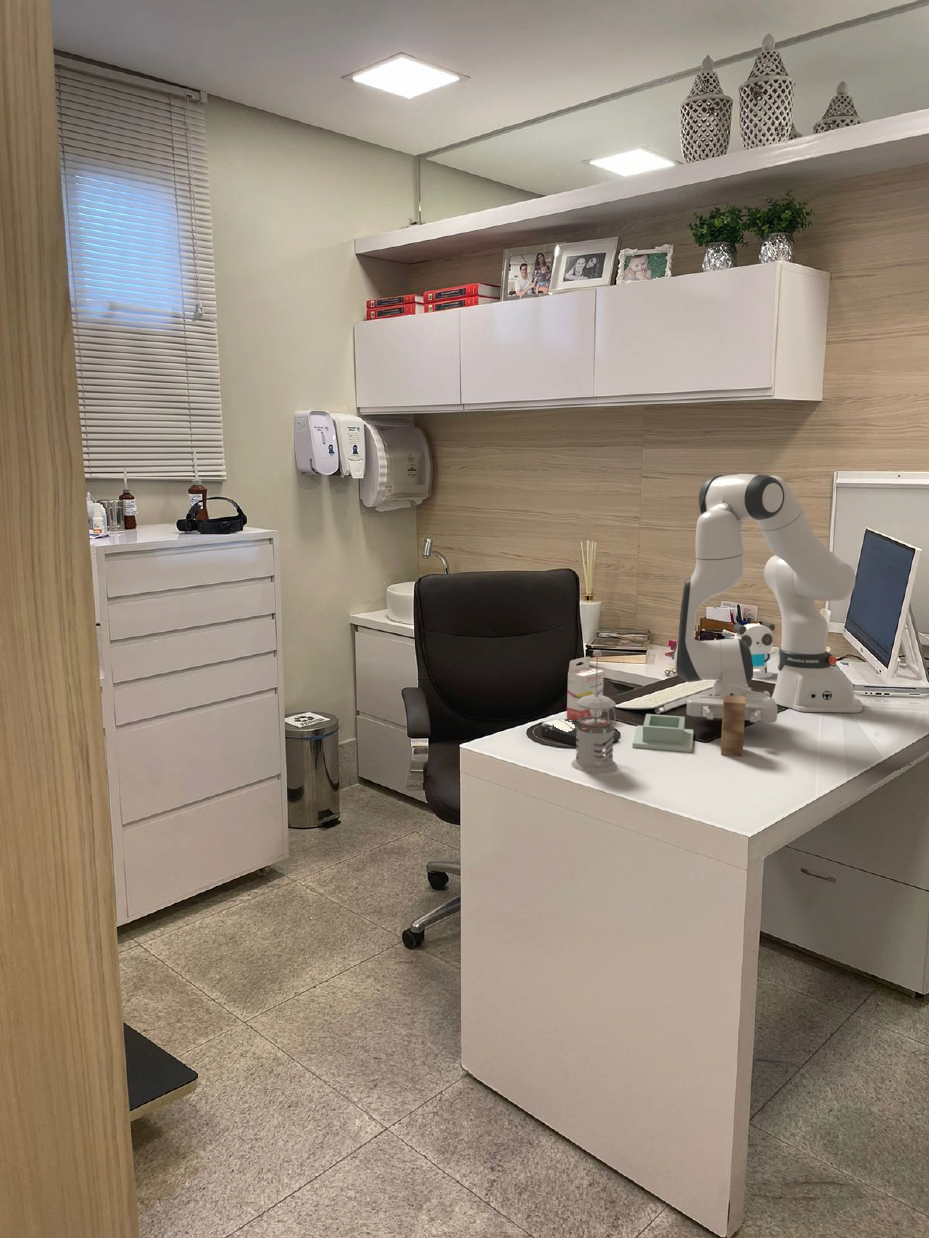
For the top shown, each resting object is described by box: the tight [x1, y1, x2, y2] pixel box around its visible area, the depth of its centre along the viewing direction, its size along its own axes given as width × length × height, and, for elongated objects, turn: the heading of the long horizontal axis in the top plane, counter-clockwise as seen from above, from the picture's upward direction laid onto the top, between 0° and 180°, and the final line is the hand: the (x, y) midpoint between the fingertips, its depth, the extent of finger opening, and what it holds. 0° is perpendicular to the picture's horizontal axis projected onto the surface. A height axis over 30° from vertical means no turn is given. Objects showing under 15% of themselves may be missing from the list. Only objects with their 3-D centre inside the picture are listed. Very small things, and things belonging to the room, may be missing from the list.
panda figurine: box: [732, 621, 776, 679], centre depth 278 cm, size 12×11×15 cm
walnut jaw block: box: [720, 695, 746, 757], centre depth 208 cm, size 4×6×12 cm
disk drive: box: [540, 718, 619, 747], centre depth 218 cm, size 10×3×15 cm
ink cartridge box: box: [566, 656, 605, 721], centre depth 233 cm, size 9×5×15 cm, turn 135°
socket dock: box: [631, 713, 694, 753], centre depth 216 cm, size 13×14×4 cm
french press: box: [570, 649, 618, 774], centre depth 198 cm, size 10×12×25 cm
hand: (731, 717), depth 211 cm, fingers open, 8 cm apart
